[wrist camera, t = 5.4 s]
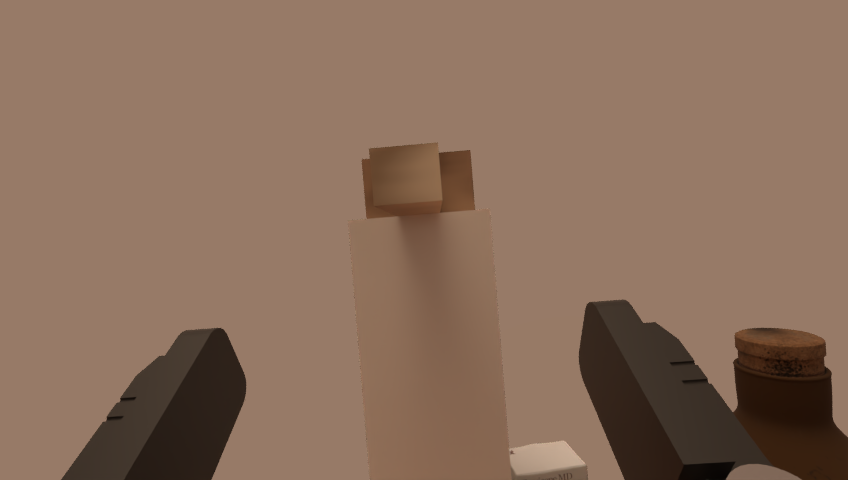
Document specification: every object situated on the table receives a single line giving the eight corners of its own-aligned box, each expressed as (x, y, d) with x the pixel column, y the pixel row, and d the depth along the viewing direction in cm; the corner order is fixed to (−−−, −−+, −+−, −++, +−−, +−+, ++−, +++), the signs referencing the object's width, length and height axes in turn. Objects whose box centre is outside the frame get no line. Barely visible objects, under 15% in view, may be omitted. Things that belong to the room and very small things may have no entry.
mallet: (308, 211, 15) (298, 97, 15) (379, 223, 33) (375, 172, 33) (508, 194, 15) (499, 78, 14) (468, 216, 33) (464, 165, 33)
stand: (394, 776, 24) (348, 220, 24) (406, 617, 34) (373, 224, 34) (534, 769, 24) (489, 208, 24) (505, 612, 34) (473, 215, 34)
